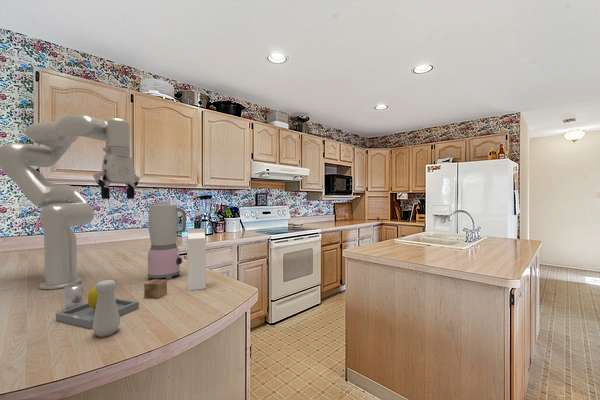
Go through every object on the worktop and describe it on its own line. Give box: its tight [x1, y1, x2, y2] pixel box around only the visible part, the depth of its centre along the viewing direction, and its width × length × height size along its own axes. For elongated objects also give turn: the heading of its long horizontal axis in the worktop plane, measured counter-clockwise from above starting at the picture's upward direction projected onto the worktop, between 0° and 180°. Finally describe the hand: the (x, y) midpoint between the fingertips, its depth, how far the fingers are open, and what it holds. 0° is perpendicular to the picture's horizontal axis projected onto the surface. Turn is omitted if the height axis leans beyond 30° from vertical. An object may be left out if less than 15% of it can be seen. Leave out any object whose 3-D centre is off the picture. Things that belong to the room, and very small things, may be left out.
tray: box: [55, 297, 140, 330], centre depth 81 cm, size 14×14×2 cm
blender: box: [147, 201, 187, 281], centre depth 118 cm, size 16×12×32 cm
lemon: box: [87, 285, 98, 309], centre depth 81 cm, size 6×6×8 cm
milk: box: [186, 227, 207, 292], centre depth 105 cm, size 6×6×22 cm
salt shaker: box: [91, 279, 121, 338], centre depth 70 cm, size 6×6×13 cm
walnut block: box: [143, 278, 168, 300], centre depth 96 cm, size 5×5×5 cm
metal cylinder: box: [64, 283, 85, 311], centre depth 85 cm, size 4×4×7 cm
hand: (118, 198), depth 104 cm, fingers open, 9 cm apart
